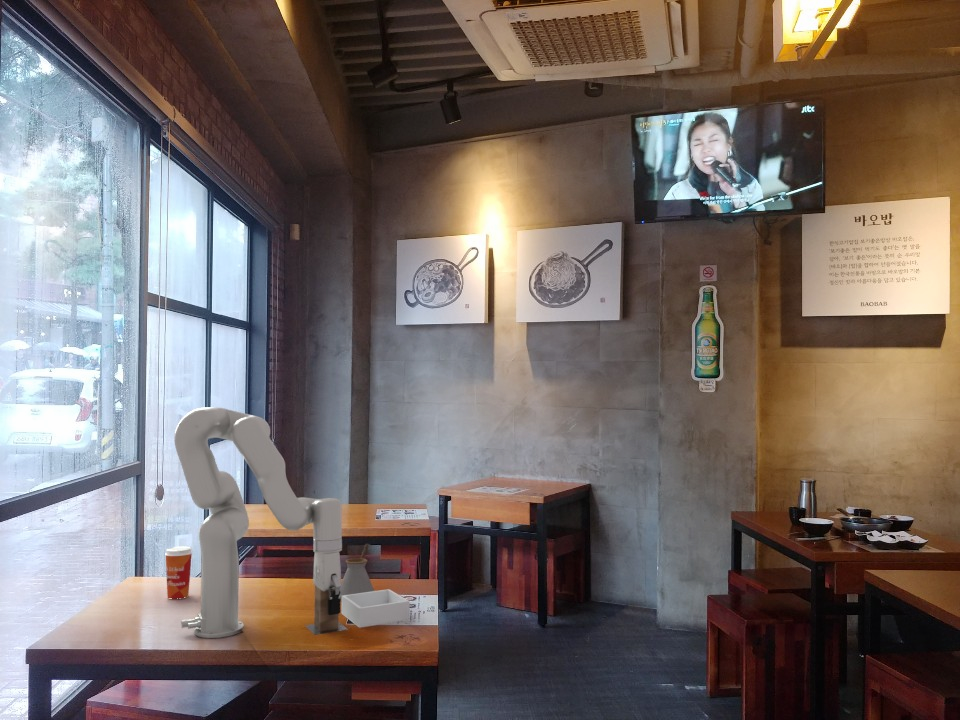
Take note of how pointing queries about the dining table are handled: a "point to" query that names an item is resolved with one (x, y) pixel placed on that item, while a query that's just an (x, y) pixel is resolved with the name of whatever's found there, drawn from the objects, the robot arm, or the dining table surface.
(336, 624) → the walnut post
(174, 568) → the coffee cup
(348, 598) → the grey bin
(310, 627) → the stud plate
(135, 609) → the dining table surface
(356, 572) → the coffee pot
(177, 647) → the dining table surface
